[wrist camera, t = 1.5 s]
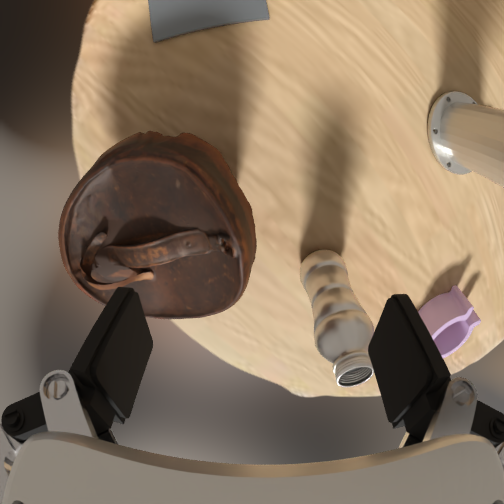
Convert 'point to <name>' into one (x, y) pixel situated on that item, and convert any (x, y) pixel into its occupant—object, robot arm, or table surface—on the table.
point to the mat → (201, 15)
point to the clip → (449, 320)
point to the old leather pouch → (160, 227)
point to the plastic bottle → (338, 318)
